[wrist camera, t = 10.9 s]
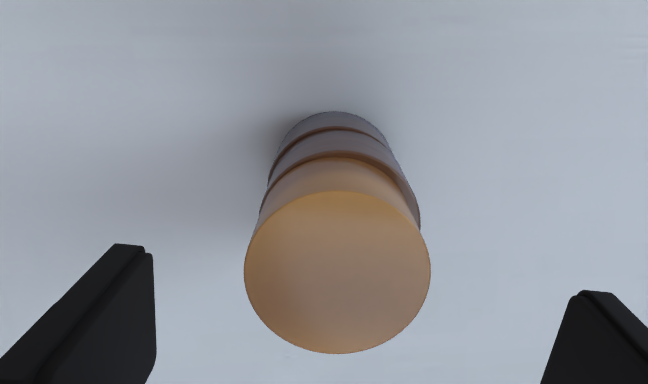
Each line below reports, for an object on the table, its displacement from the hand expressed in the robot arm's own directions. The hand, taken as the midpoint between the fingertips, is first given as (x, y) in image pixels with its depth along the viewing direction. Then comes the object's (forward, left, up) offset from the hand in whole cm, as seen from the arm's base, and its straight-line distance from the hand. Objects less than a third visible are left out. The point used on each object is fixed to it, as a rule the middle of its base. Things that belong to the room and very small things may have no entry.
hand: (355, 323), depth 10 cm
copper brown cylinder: (0, 0, -6) cm, 6 cm away
